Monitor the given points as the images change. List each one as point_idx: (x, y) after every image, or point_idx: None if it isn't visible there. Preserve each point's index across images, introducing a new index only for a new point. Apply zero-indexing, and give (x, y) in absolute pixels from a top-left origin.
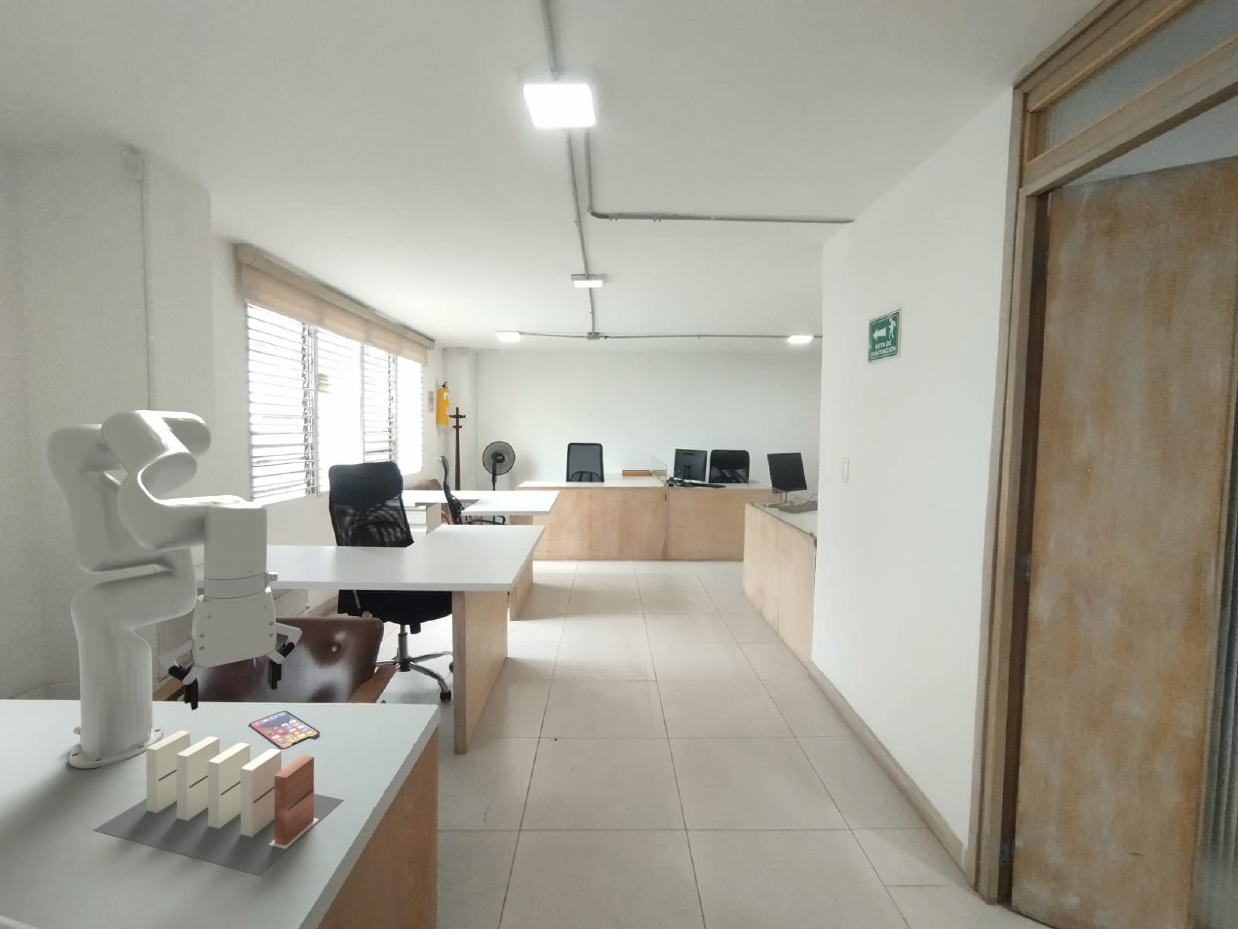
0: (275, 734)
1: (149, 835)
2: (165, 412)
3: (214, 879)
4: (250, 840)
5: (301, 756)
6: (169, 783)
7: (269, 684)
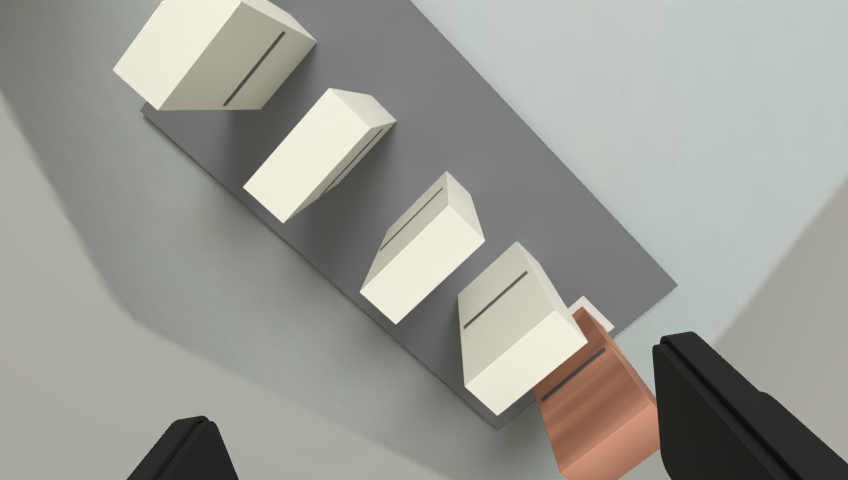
0: None
1: None
2: None
3: (422, 386)
4: None
5: (645, 412)
6: (256, 80)
7: (660, 396)
